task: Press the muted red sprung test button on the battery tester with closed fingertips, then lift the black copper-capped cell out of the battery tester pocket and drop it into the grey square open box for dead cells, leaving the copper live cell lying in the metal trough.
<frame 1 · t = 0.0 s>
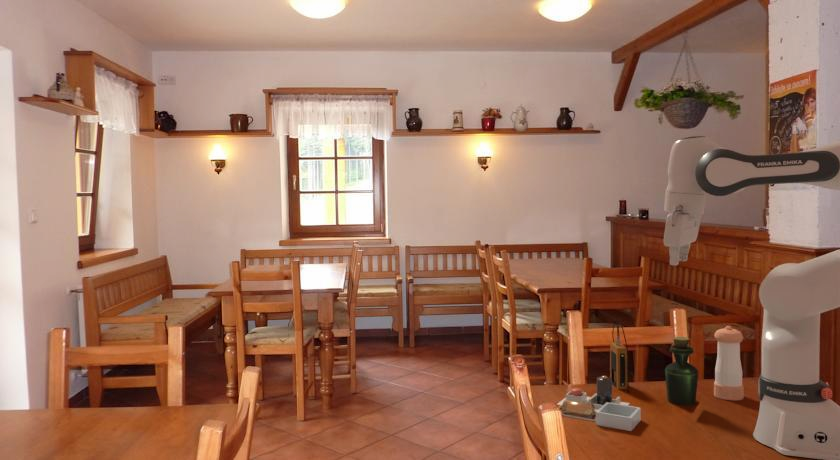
hand: (678, 263, 152), 39 cm above the table, tool pointing down, fingers open, 8 cm apart
test button: (576, 393, 167), point 4 cm above the table, slide at 0.0 cm
grey square open box: (618, 428, 151), on the table
live cell: (578, 417, 157), point 1 cm above the table, touching trough
battery tester: (593, 409, 164), on the table
dead cell: (604, 405, 163), point 1 cm above the table, touching battery tester
trough: (577, 419, 158), on the table
potion bottle: (681, 407, 165), on the table
pepper shaker: (728, 397, 172), on the table
multimeter: (631, 391, 180), on the table
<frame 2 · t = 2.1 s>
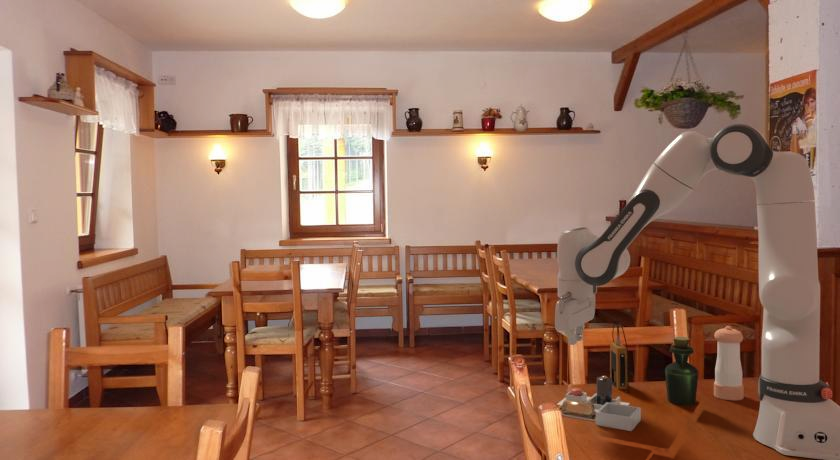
hand: (575, 342, 166), 17 cm above the table, tool pointing down, fingers open, 3 cm apart
nothing on the table moved.
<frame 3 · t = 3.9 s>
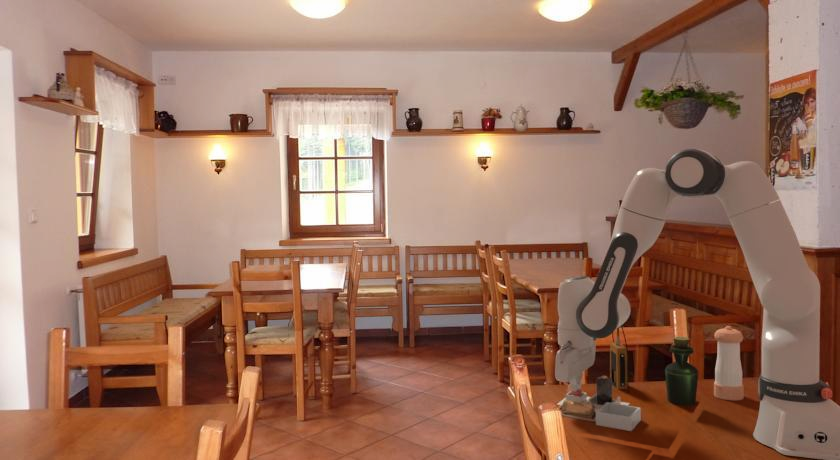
hand: (575, 389, 167), 4 cm above the table, tool pointing down, fingers closed, pressing on test button
test button: (576, 393, 167), point 4 cm above the table, slide at 0.1 cm, touching gripper
everything else where it was.
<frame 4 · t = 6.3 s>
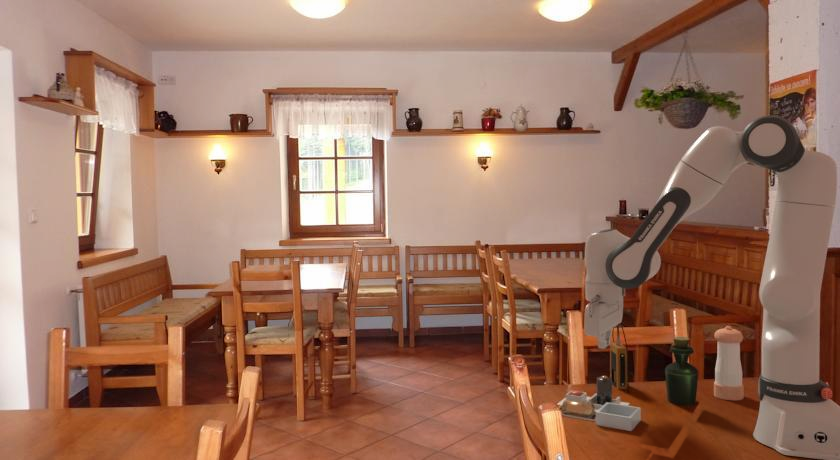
hand: (604, 346, 162), 17 cm above the table, tool pointing down, fingers closed
test button: (576, 395, 167), point 3 cm above the table, slide at 0.6 cm
everything else where it was.
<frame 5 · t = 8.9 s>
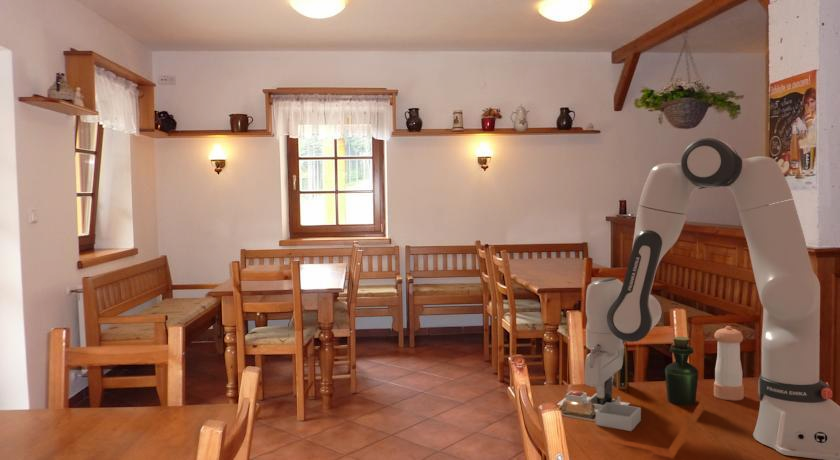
hand: (604, 394, 163), 4 cm above the table, tool pointing down, fingers closed on dead cell, 4 cm apart
dead cell: (604, 405, 163), point 1 cm above the table, touching battery tester, gripper
everything else where it was.
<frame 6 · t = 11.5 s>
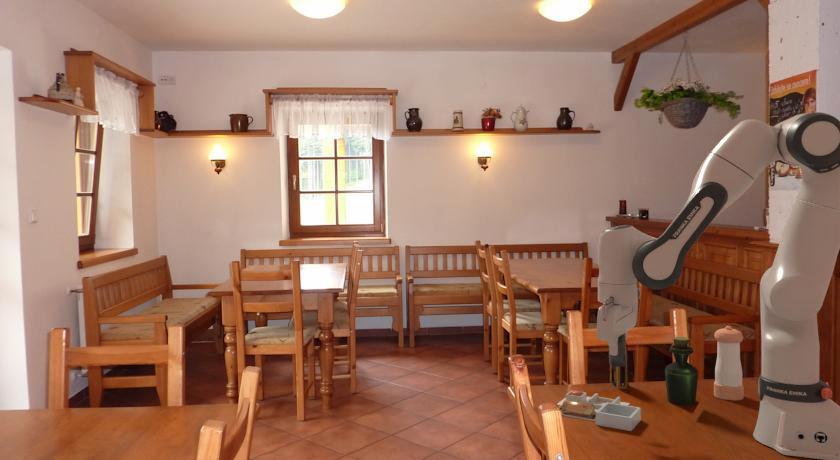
hand: (617, 352, 150), 18 cm above the table, tool pointing down, fingers closed on dead cell, 4 cm apart
dead cell: (617, 364, 150), point 15 cm above the table, touching gripper
everything else where it was.
when the fingers open (5 cm above the table, at t = 14.0 s): dead cell drops 2 cm, resting on grey square open box.
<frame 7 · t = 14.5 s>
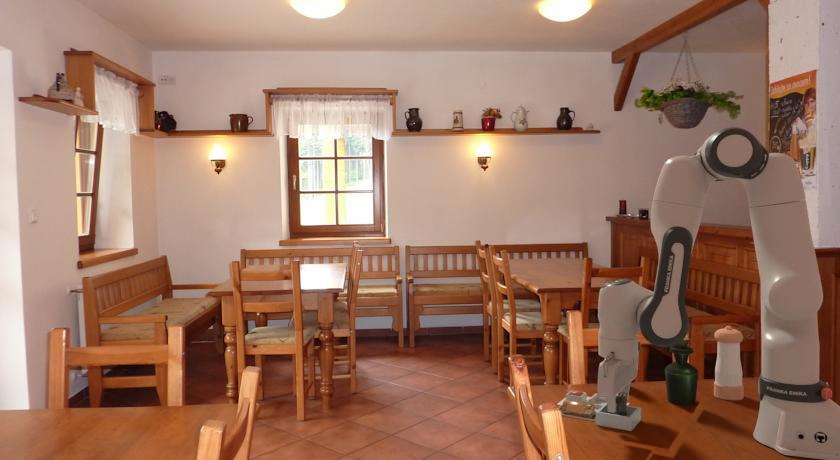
hand: (618, 405, 151), 5 cm above the table, tool pointing down, fingers open, 8 cm apart
dead cell: (618, 425, 151), point 1 cm above the table, touching grey square open box
everything else where it was.
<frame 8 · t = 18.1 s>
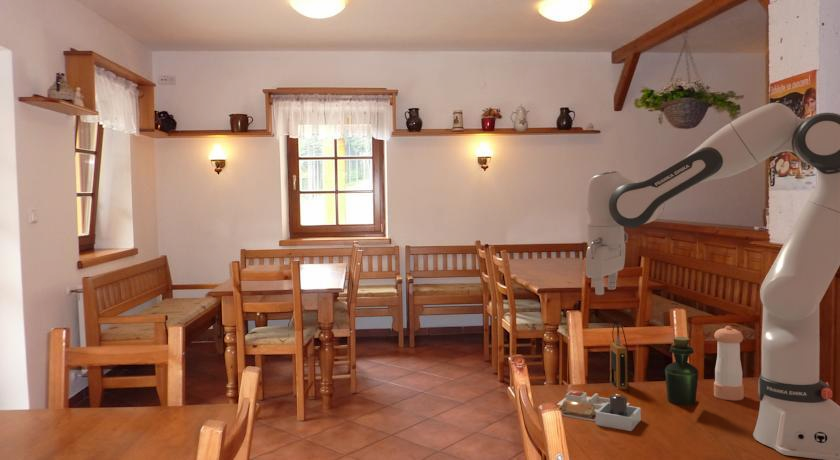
hand: (605, 291, 160), 31 cm above the table, tool pointing down, fingers open, 8 cm apart
nothing on the table moved.
at the end: dead cell 0.0 cm off-centre on the grey square open box, point 0.6 cm above the grey square open box's base; the gripper is holding nothing; live cell moved 0.1 cm from its start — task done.
